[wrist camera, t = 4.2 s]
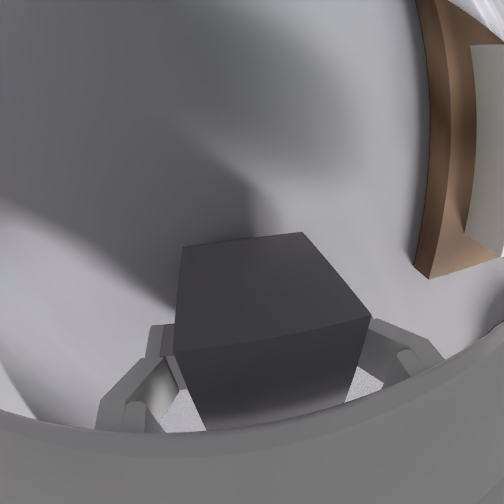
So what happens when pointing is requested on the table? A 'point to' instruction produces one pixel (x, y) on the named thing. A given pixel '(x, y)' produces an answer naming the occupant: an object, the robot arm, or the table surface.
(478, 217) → the socket
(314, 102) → the table surface
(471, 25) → the mounting board
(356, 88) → the table surface
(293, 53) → the table surface
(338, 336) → the plug
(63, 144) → the table surface
